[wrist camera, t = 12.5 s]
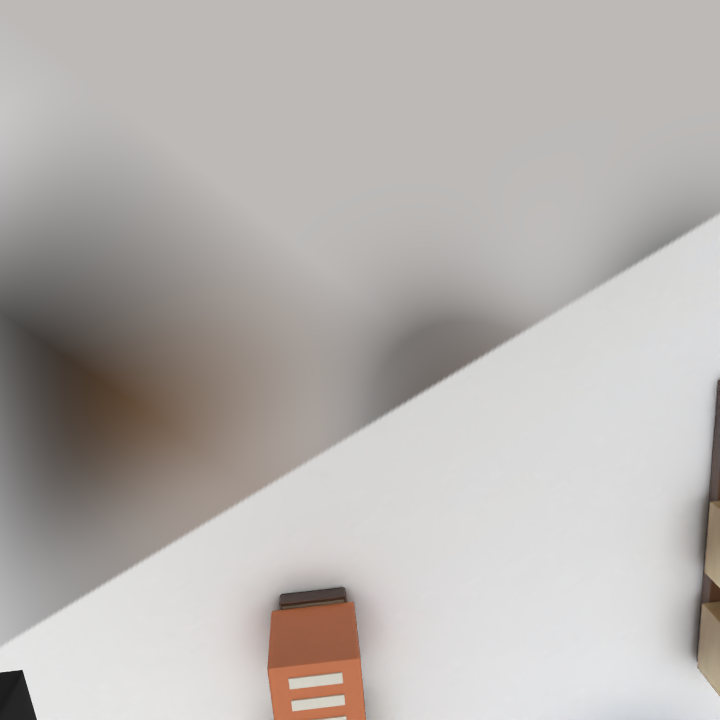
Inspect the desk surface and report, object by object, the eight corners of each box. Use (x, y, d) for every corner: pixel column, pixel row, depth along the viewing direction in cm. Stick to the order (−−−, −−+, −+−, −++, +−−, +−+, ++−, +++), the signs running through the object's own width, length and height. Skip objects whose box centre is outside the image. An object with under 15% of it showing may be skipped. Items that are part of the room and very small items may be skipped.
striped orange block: (271, 610, 37) (267, 670, 33) (353, 601, 37) (360, 659, 33) (280, 679, 38) (277, 745, 34) (359, 669, 39) (367, 734, 34)
